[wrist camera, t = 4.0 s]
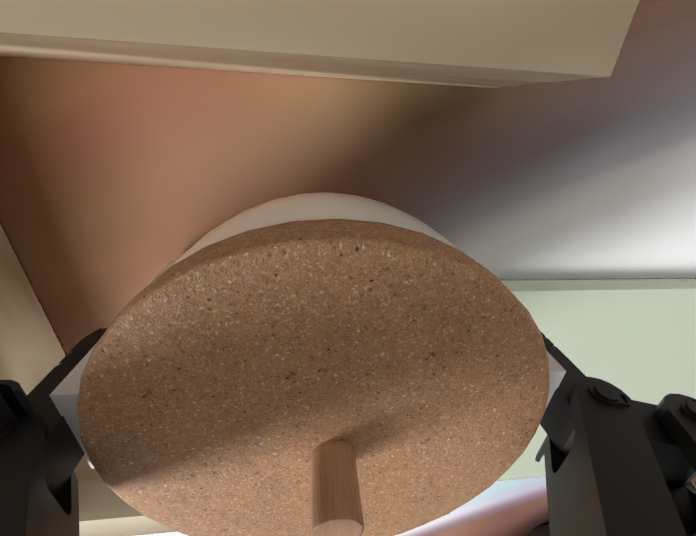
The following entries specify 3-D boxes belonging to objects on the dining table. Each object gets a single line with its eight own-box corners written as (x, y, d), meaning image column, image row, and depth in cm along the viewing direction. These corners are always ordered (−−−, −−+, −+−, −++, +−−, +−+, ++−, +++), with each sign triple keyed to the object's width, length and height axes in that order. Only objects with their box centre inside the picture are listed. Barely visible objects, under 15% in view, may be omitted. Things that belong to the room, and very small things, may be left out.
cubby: (-186, -23, 8) (-763, -170, 4) (504, 36, 10) (645, -14, 6) (74, 433, 17) (-10, 549, 13) (417, 413, 19) (449, 505, 15)
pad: (487, 280, 15) (498, 291, 14) (764, 277, 17) (788, 287, 16) (430, 471, 22) (435, 486, 22) (627, 455, 24) (638, 468, 23)
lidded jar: (441, 143, 12) (746, 234, 4) (433, 352, 17) (548, 587, 9) (156, 178, 11) (-261, 376, 3) (236, 382, 16) (160, 662, 8)
